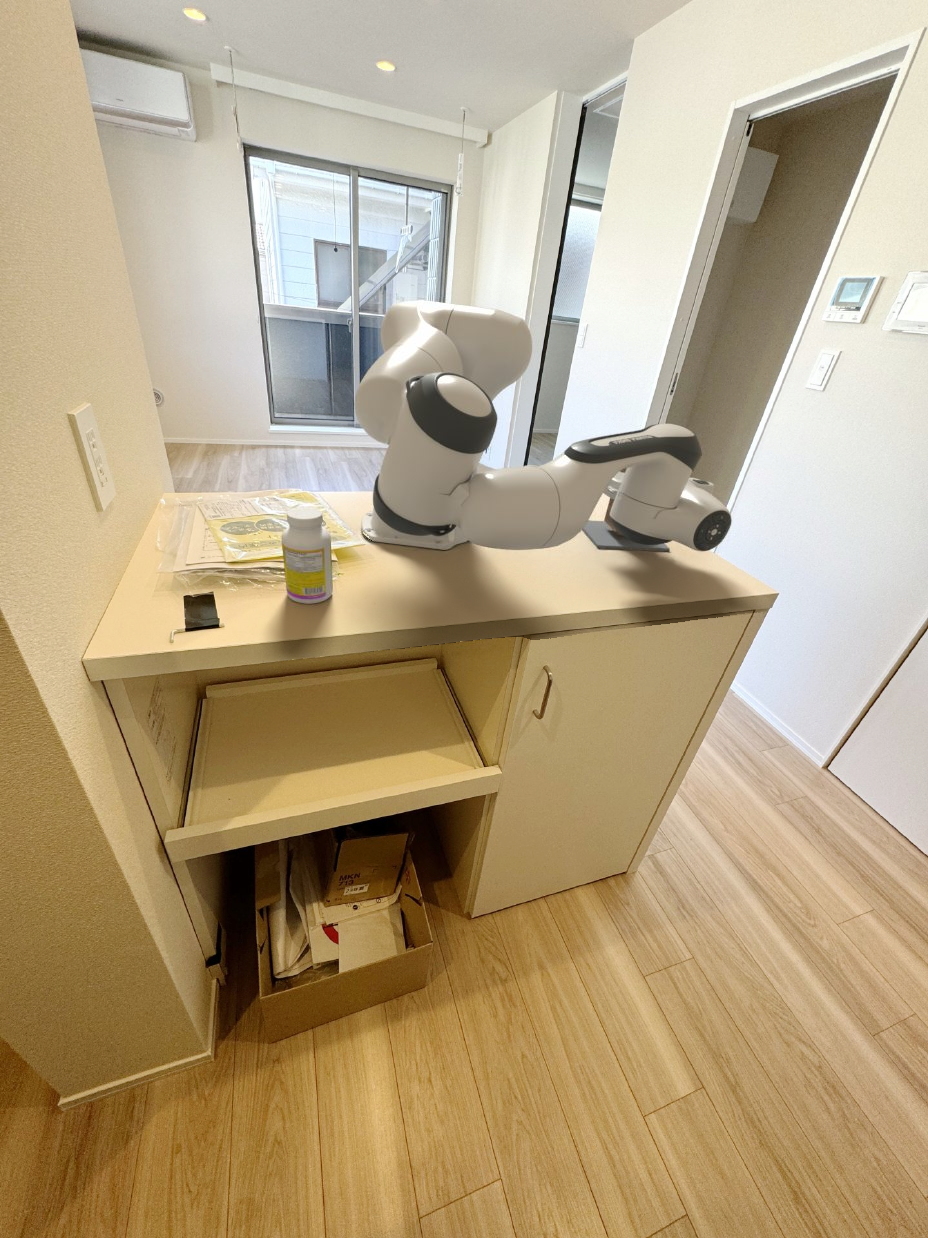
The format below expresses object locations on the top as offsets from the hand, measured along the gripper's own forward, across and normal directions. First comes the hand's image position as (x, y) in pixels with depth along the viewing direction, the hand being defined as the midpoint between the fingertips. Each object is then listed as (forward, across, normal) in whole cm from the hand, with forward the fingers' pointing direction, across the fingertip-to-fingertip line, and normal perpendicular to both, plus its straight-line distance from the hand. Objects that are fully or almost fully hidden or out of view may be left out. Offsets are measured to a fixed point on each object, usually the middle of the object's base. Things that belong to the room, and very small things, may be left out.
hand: (635, 475), depth 104 cm
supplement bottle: (-30, -62, -13) cm, 70 cm away
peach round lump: (-1, 0, -13) cm, 13 cm away
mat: (-1, 0, -13) cm, 13 cm away
